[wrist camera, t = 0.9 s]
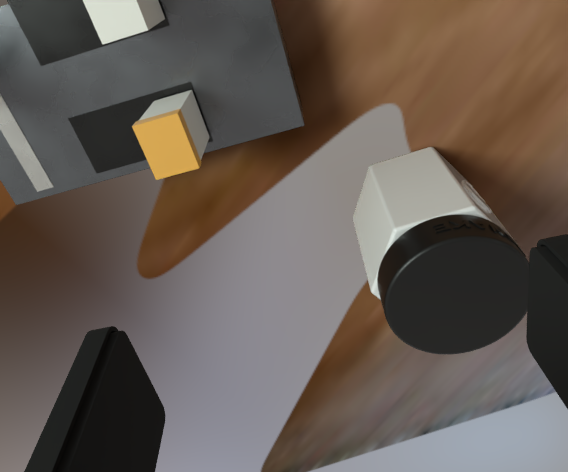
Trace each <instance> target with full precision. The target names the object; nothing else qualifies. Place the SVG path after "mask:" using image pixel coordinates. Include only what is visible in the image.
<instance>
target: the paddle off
mask: <svg viewBox="0 0 568 472" xmlns="http://www.w3.org/2000/svg"><path fill="white" fill-rule="evenodd" d="M83 2H84V4H85V7H86V9H87V11H88V13H89V16H90V18H91V20H92V22H93V25H94V27H95V29H96V31H97V33H98V36H99V38H100V40H101V42H102V45H103V44H106V43H110V42H113V41H116V40H119V39H122V38H125V37H128V36H132V35H135V34H138V33H141V32H144V31H147V30H149V29H151V28H152V27H154V26H155V25H157V24H158V23H160V22H161V21H163V20H164V19H165V17H164V14H163V12H162V9H161V6H160V4H159V1H158V0H83Z"/></svg>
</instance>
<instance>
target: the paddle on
mask: <svg viewBox="0 0 568 472" xmlns="http://www.w3.org/2000/svg"><path fill="white" fill-rule="evenodd" d="M132 128H133V130H134V132H135V135H136V137H137V139H138V141H139V143H140V146H141V148H142V150H143V152H144V154H145V157H146V159H147V161H148V163H149V165H150V168H151V170H152V172H153V174H154V176H155V179H156V180H158V179H162V178H165V177H169V176H173V175H176V174H180V173H184V172H188V171H191V170H195V169H199V168H200V166H201V163H202V162H201V159H202V156H203V153H204V151H205V148H206V145H207V143H208V140H209V134H208V131H207V129H206V126H205V123H204V121H203V118H202V115H201V113H200V110H199V107H198V105H197V102H196V99H195V97H194V94H193V91H192V90H189V91H186V92H183V93H179V94H176V95H172V96H169V97H166V98H162V99H159V100H155V101H154V102H153V103H152V104H151V105H150V107H149V108H148V109H147V110H146V112H145V113H144V114H143V115H142V117H141V118H140V119H139V120H138V121H136V122H135V123H134V124H133V126H132Z"/></svg>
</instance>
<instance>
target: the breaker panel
mask: <svg viewBox="0 0 568 472" xmlns="http://www.w3.org/2000/svg"><path fill="white" fill-rule="evenodd" d="M7 1H8V3H9V4H8V5H5V6H1V7H0V180H1V181H2V183H3V185H4V186H5V188H6V189H7V191H8V193H9V194H10V196H11V197H12V199H13V201H14V202H15V204H16V205H17V204H21V203H25V202H28V201H32V200H36V199H39V198H43V197H46V196H50V195H54V194H57V193H61V192H65V191H68V190H72V189H76V188H79V187H83V186H86V185H90V184H94V183H97V182H101V181H105V180H108V179H112V178H116V177H119V176H123V175H126V174H130V173H133V172H137V171H141V170H145V169H148V168H150V165H149V163H148V161H147V159H146V157H145V154H144V152H143V150H142V148H141V146H140V143H139V141H138V139H137V137H136V135H135V132H134V130H133V128H132V126H133V124H134V123H135V122H136V121H138V120H139V119H140V118H141V117H142V115H143V114H144V113H145V112H146V110H147V109H148V108H149V107H150V105H151V104H152V103H153V102H154V101H155V100H159V99H162V98H166V97H169V96H172V95H176V94H179V93H183V92H186V91H189V90H192V91H193V94H194V97H195V99H196V102H197V105H198V107H199V110H200V113H201V115H202V118H203V121H204V123H205V126H206V129H207V131H208V134H209V140H208V143H207V145H206V148H205V151H204V153H206V152H210V151H214V150H217V149H221V148H225V147H228V146H232V145H236V144H239V143H243V142H246V141H250V140H254V139H257V138H261V137H265V136H268V135H272V134H275V133H279V132H283V131H286V130H290V129H294V128H297V127H301V126H304V118H303V109H302V105H301V102H300V98H299V94H298V90H297V87H296V83H295V79H294V75H293V72H292V68H291V64H290V60H289V57H288V53H287V49H286V46H285V42H284V38H283V34H282V31H281V27H280V23H279V19H278V16H277V12H276V8H275V4H274V1H273V0H158V1H159V4H160V6H161V9H162V12H163V14H164V17H165V19H164V20H163V21H161V22H160V23H158V24H157V25H155V26H154V27H152V28H151V29H149V30H147V31H144V32H141V33H138V34H135V35H132V36H128V37H125V38H122V39H119V40H116V41H113V42H110V43H106V44H103V45H102V42H101V40H100V38H99V36H98V33H97V31H96V29H95V27H94V25H93V22H92V20H91V18H90V16H89V13H88V11H87V9H86V7H85V4H84V2H83V0H7Z"/></svg>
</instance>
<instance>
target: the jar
mask: <svg viewBox="0 0 568 472" xmlns="http://www.w3.org/2000/svg"><path fill="white" fill-rule="evenodd" d="M353 223H354V226H355V230H356V234H357V238H358V242H359V246H360V250H361V254H362V258H363V262H364V266H365V270H366V274H367V278H368V282H369V286H370V290H371V292H372V293H373V294H374V295H375V296H376V297H378V298H379V299H380V300H381V302H382V306H383V309H384V313H385V316H386V320H387V322H388V324H389V326H390V328H391V329H392V331H393V332H394V333H395V334H396V335H397V336H398V338H400V339H401V340H402V341H403V342H405V343H406V344H408V345H410V346H412V347H414V348H416V349H418V350H421V351H425V352H429V353H435V354H459V353H465V352H470V351H474V350H477V349H480V348H482V347H485V346H487V345H489V344H492V343H493V342H495V341H497V340H499V339H500V338H502V337H503V336H505V335H506V334H507V333H509V332H510V331H511V330H512V329H513V328H514V327H515V326H516V325H517V324H518V323H519V322H520V321H521V320H522V318H523V317H524V315H525V314H526V312H527V310H528V286H529V262H528V260H527V259H526V258H525V257H526V256H525V254H524V253H523V251H522V249H521V248H520V247H519V245H518V244H517V243H516V241H515V240H514V239H513V238H512V236H511V235H510V234H509V232H508V231H507V230H506V229H505V227H504V226H503V225H502V223H501V222H500V221H499V220H498V218H497V217H496V216H495V214H494V213H493V212H492V209H491V208H490V207H489V206H488V205H487V204H486V203H485V200H484V199H482V198H481V196H480V195H479V194H478V192H477V191H476V190H475V189H474V187H473V186H472V185H471V184H470V183H469V182H468V181H467V180H466V179H465V178H464V177H463V176H462V175H461V174H460V173H459V172H458V171H457V170H456V169H455V168H454V167H453V166H452V165H451V164H450V163H449V162H448V161H447V160H446V159H445V158H444V157H443V156H442V155H441V154H440V153H439V152H437V151H436V150H435V149H434V148H433V147H428V148H425V149H421V150H418V151H415V152H412V153H408V154H405V155H402V156H398V157H395V158H392V159H389V160H385V161H382V162H379V163H376V164H372V165H370V166H369V168H368V171H367V174H366V177H365V181H364V184H363V187H362V190H361V193H360V197H359V200H358V203H357V206H356V209H355V213H354V216H353Z"/></svg>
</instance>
